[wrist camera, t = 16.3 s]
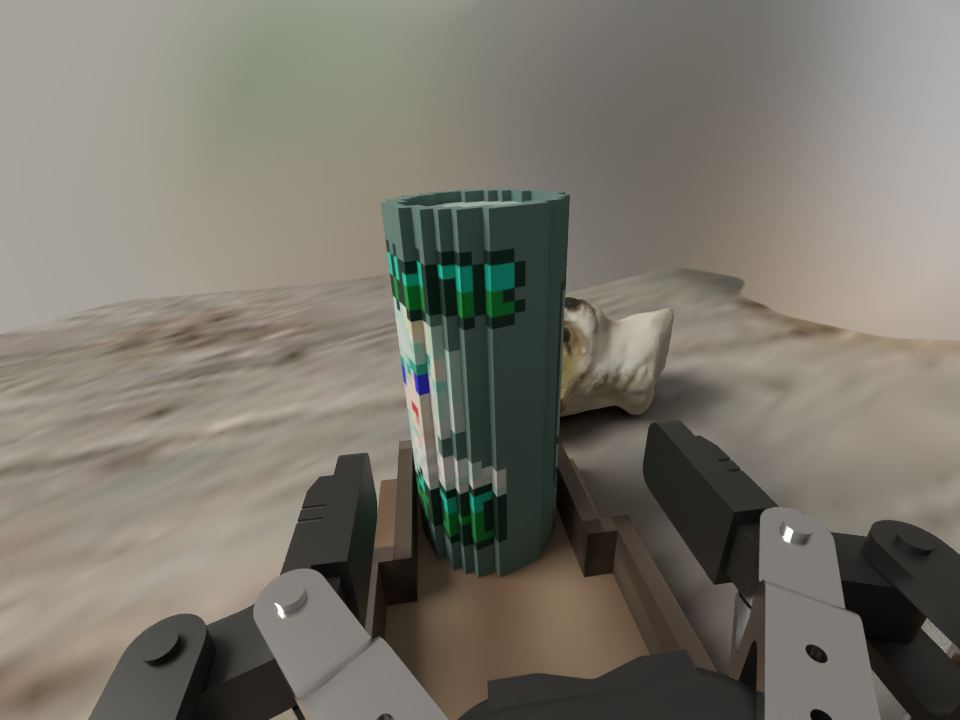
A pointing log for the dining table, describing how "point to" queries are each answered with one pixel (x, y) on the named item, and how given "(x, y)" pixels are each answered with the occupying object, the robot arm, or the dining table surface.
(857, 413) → the dining table surface
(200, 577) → the dining table surface
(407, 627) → the brown open tray
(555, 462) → the can
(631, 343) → the ceramic sculpture
